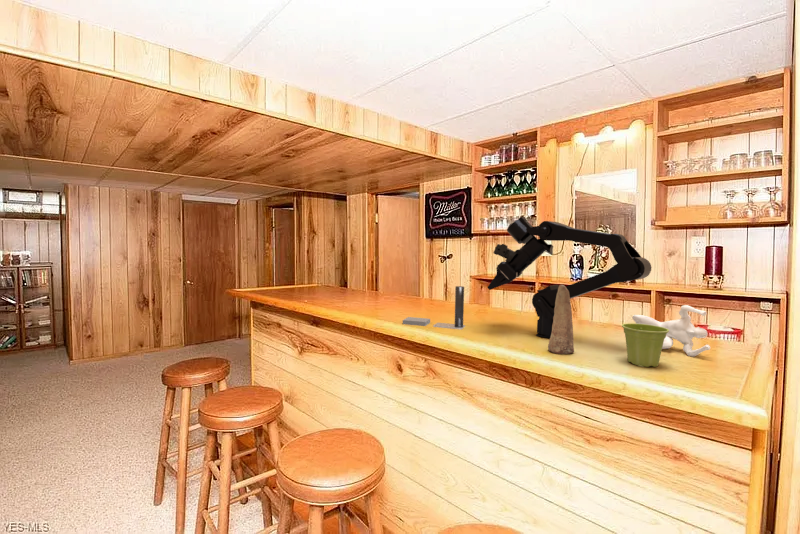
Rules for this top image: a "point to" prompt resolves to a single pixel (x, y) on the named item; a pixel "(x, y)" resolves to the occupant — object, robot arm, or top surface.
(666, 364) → the top surface
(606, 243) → the robot arm
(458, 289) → the upright dark post
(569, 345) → the stone cone
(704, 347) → the person figurine
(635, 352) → the plant pot
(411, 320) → the tile
